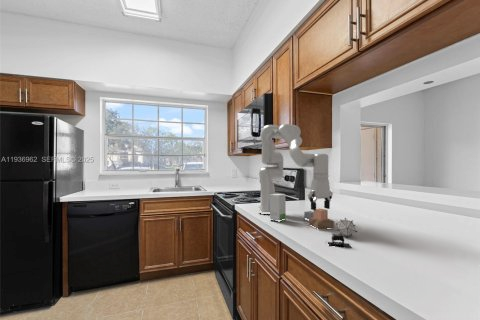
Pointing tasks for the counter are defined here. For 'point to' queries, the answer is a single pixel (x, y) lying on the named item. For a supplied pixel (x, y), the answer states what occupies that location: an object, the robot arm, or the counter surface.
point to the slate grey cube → (309, 214)
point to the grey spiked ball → (346, 227)
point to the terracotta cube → (321, 214)
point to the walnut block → (321, 223)
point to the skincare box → (277, 206)
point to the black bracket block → (338, 244)
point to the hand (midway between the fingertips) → (320, 209)
